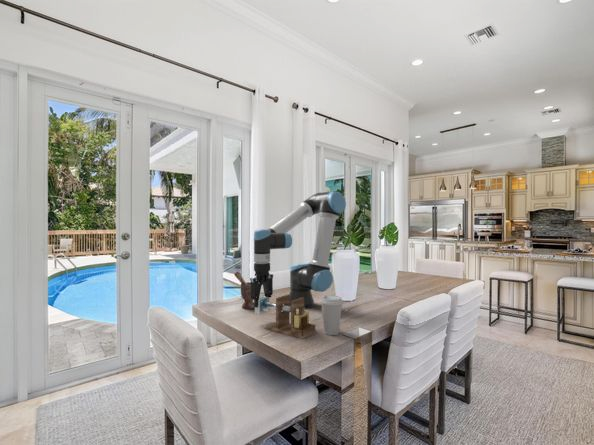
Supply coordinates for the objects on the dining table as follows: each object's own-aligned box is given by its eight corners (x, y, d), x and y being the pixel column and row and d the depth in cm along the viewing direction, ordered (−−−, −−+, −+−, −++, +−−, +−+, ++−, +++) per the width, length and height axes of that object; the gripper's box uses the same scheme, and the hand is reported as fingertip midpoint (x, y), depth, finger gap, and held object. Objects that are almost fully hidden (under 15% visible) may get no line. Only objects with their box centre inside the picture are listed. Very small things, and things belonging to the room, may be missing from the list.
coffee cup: (318, 328, 137) (318, 294, 137) (340, 328, 138) (340, 294, 138) (322, 336, 127) (322, 300, 127) (345, 336, 128) (345, 299, 128)
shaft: (256, 308, 144) (256, 298, 144) (262, 306, 147) (263, 297, 147) (290, 317, 132) (290, 306, 132) (297, 314, 136) (297, 303, 135)
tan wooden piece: (294, 332, 129) (294, 315, 129) (304, 327, 135) (304, 310, 135) (298, 334, 128) (298, 316, 128) (308, 329, 134) (308, 311, 134)
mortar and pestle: (240, 311, 162) (240, 273, 162) (232, 307, 169) (232, 271, 169) (259, 307, 169) (259, 271, 169) (251, 304, 176) (251, 269, 176)
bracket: (265, 328, 137) (265, 296, 137) (279, 322, 145) (279, 292, 145) (302, 338, 125) (302, 304, 125) (315, 331, 133) (315, 299, 133)
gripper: (254, 265, 135) (254, 319, 135) (280, 261, 150) (280, 309, 150) (242, 264, 139) (241, 315, 139) (268, 260, 154) (268, 306, 154)
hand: (261, 312), depth 145 cm, fingers open, 5 cm apart
